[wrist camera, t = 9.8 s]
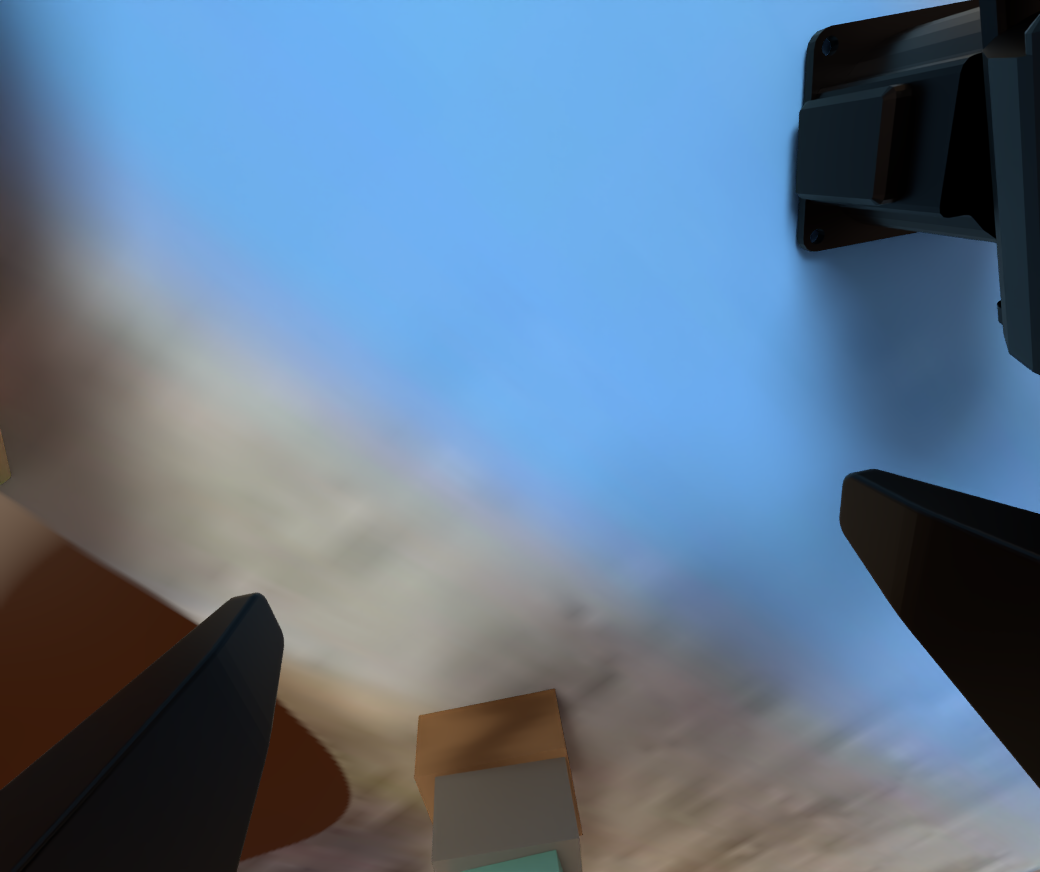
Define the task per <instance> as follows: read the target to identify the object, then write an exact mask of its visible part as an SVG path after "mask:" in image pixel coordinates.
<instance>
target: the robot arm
mask: <svg viewBox="0 0 1040 872" xmlns="http://www.w3.org/2000/svg"><path fill="white" fill-rule="evenodd" d="M825 39H828V40H829V41H830V45H831V48H830V52H829V53H828V55H827V56H825V54H824V53H823V51H822V45H823V42H824V41H825ZM796 193H797V194H798V195H799V209H798V229H797V241H798V244H799V246H800V247H801V248H803V249H804V250H808V251H821V250H826V249H832V248H837V247H842V246H847V245H853V244H858V243H863V242H868V241H874V240H879V239H884V238H889V237H895V236H900V235H905V234H911V233H916V232H923V233H930V234H938V235H945V236H952V237H959V238H966V239H973V240H980V241H987V242H994V243H997V256H998V269H999V282H1000V296H1001V300H1000V301H999V302H998V303H997V309H998V321H999V323H1001V324H1002V325H1003V334H1004V338H1005V341H1006V345H1007V348H1008V352H1009V354H1010V355H1012V356H1013V357H1014V358H1016V359H1017V360H1018V361H1019V362H1021V363H1022V364H1023V365H1025V366H1026V367H1027V368H1029V369H1030V370H1031V371H1032V372H1034V373H1037V374H1039V375H1040V0H969V1H964V2H958V3H953V4H948V5H942V6H937V7H931V8H926V9H920V10H915V11H909V12H904V13H899V14H893V15H888V16H882V17H877V18H871V19H866V20H861V21H855V22H850V23H844V24H839V25H833V26H830V27H827V28H825V29H822V30H820V31H817V32H816V33H815V34H814V35H813V36H812V38H811V40H810V41H809V43H808V47H807V54H806V73H805V93H804V106H803V107H802V109H801V110H800V113H799V130H798V151H797V171H796ZM816 229H817V230H818V236H817V238H816V240H815V241H813V242H811V240H810V237H811V234H812V232H813V231H814V230H816ZM839 520H840V526H841V529H842V531H843V533H844V535H845V537H846V538H847V540H848V541H849V543H850V544H851V546H852V547H853V549H854V550H855V552H856V553H857V555H858V556H859V558H860V559H861V561H862V562H863V564H864V565H865V567H866V568H867V570H868V571H869V573H870V574H871V576H872V577H873V579H874V580H875V582H876V583H877V585H878V586H879V588H880V589H881V591H882V593H883V594H884V596H885V597H886V599H887V600H888V602H889V603H890V604H891V606H892V607H893V609H894V610H895V611H896V613H897V614H898V616H899V617H900V618H901V620H902V621H903V622H904V623H905V625H906V626H907V627H908V629H909V630H910V631H911V632H912V634H913V635H914V636H915V637H916V638H917V640H918V641H919V642H920V643H921V645H922V646H923V647H924V648H925V649H926V651H927V652H928V653H929V654H930V656H931V657H932V658H933V659H934V660H935V662H936V663H937V664H938V665H939V667H940V668H941V669H942V670H943V671H944V673H945V674H946V675H947V676H948V678H949V679H950V680H951V681H952V682H953V684H954V685H955V686H956V687H957V688H958V690H959V691H960V692H961V693H962V695H963V696H964V697H965V698H966V699H967V701H968V702H969V703H970V704H971V706H972V707H973V708H974V709H975V710H976V712H977V713H978V714H979V715H980V717H981V718H982V719H983V720H984V721H985V723H986V724H987V725H988V726H989V727H990V729H991V730H992V731H993V732H994V734H995V735H996V736H997V737H998V738H999V740H1000V741H1001V742H1002V743H1003V745H1004V746H1005V747H1006V748H1007V749H1008V751H1009V752H1010V753H1011V754H1012V756H1013V757H1014V758H1015V759H1016V760H1017V762H1018V763H1019V764H1020V765H1021V766H1022V768H1023V769H1024V770H1025V771H1026V773H1027V774H1028V775H1029V776H1030V777H1031V779H1032V780H1033V781H1034V782H1035V784H1036V785H1037V786H1038V787H1039V788H1040V514H1038V513H1035V512H1031V511H1027V510H1024V509H1020V508H1017V507H1013V506H1009V505H1006V504H1002V503H998V502H995V501H991V500H987V499H984V498H980V497H976V496H973V495H969V494H965V493H962V492H958V491H955V490H951V489H947V488H944V487H940V486H936V485H933V484H929V483H925V482H922V481H918V480H914V479H911V478H907V477H903V476H900V475H896V474H893V473H889V472H885V471H882V470H878V469H869V470H864V471H859V472H854V473H850V474H848V475H847V476H846V477H845V478H844V480H843V486H842V496H841V506H840V516H839ZM283 650H284V638H283V633H282V630H281V628H280V626H279V624H278V622H277V620H276V618H275V616H274V614H273V612H272V610H271V608H270V606H269V604H268V602H267V600H266V598H265V597H264V596H263V595H262V594H260V593H251V594H246V595H241V596H237V597H233V598H231V599H230V600H228V601H227V602H226V603H225V604H223V605H222V606H221V607H220V608H219V609H217V610H216V611H215V612H214V613H213V614H211V615H210V616H209V617H208V618H207V619H205V620H204V621H203V622H202V623H201V624H199V625H198V626H197V627H196V628H195V629H194V630H192V631H191V632H190V633H189V634H188V635H186V636H185V637H184V638H183V639H181V640H180V641H179V642H178V643H177V644H175V646H173V647H172V648H171V649H170V650H168V651H167V652H166V653H165V654H163V655H162V656H161V657H160V658H159V659H157V660H156V661H155V662H154V663H153V664H151V665H150V666H149V667H148V668H147V669H145V670H144V671H143V672H142V673H141V674H139V675H138V676H137V677H136V678H135V679H133V680H132V681H131V682H130V683H129V684H127V685H126V686H125V687H124V688H123V689H121V690H120V691H119V692H118V693H117V694H115V695H114V696H113V697H112V698H111V699H109V700H108V701H107V702H106V703H105V704H103V705H102V706H101V707H100V708H99V709H97V710H96V711H95V712H94V713H93V714H91V715H90V716H89V717H88V718H87V719H85V720H84V721H83V722H82V723H81V724H79V725H78V726H77V727H76V728H75V729H73V730H72V731H71V732H70V733H69V734H67V735H66V736H65V737H64V738H63V739H62V740H60V741H59V742H58V743H57V744H55V745H54V746H53V747H52V748H51V749H49V750H48V751H47V752H46V753H45V754H43V755H42V756H41V757H40V758H39V759H37V760H36V761H35V762H34V763H33V764H31V765H30V766H29V767H28V768H27V769H25V770H24V771H23V772H22V773H21V774H19V775H18V776H17V777H16V778H15V779H13V780H12V781H11V782H10V783H9V784H7V785H6V786H5V787H4V788H3V789H1V790H0V872H237V868H238V865H239V861H240V857H241V853H242V849H243V845H244V841H245V837H246V834H247V830H248V826H249V822H250V818H251V814H252V810H253V806H254V803H255V799H256V795H257V791H258V787H259V783H260V779H261V776H262V771H263V767H264V764H265V759H266V755H267V751H268V747H269V741H270V736H271V731H272V724H273V717H274V711H275V704H276V697H277V690H278V684H279V677H280V670H281V663H282V657H283Z"/></svg>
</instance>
